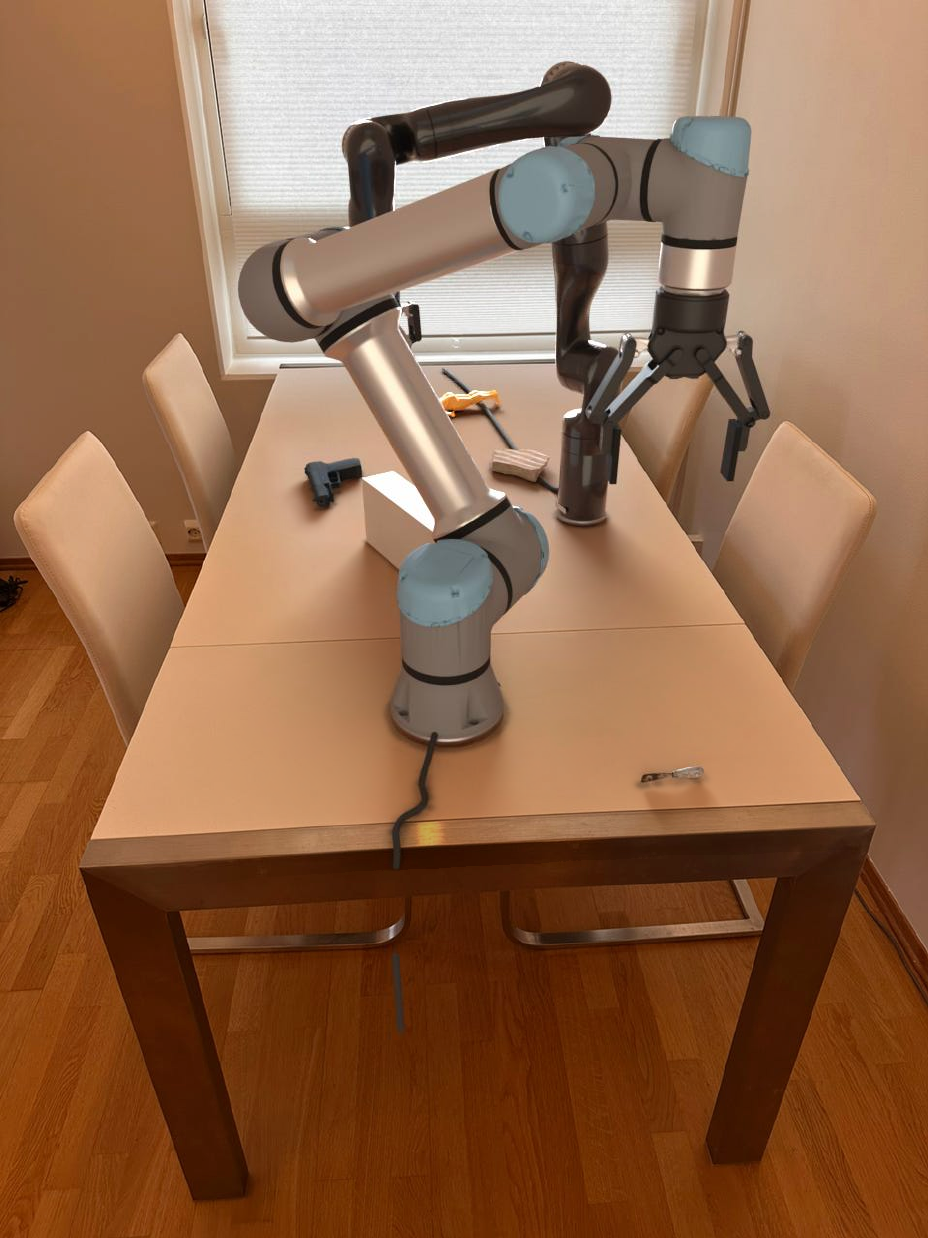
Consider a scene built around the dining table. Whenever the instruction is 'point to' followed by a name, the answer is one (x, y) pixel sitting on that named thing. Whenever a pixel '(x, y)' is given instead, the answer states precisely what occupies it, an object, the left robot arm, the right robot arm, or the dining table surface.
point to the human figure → (466, 400)
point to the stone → (519, 462)
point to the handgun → (330, 477)
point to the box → (395, 516)
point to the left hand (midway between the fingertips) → (669, 478)
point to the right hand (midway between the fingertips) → (380, 372)
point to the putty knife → (674, 774)
